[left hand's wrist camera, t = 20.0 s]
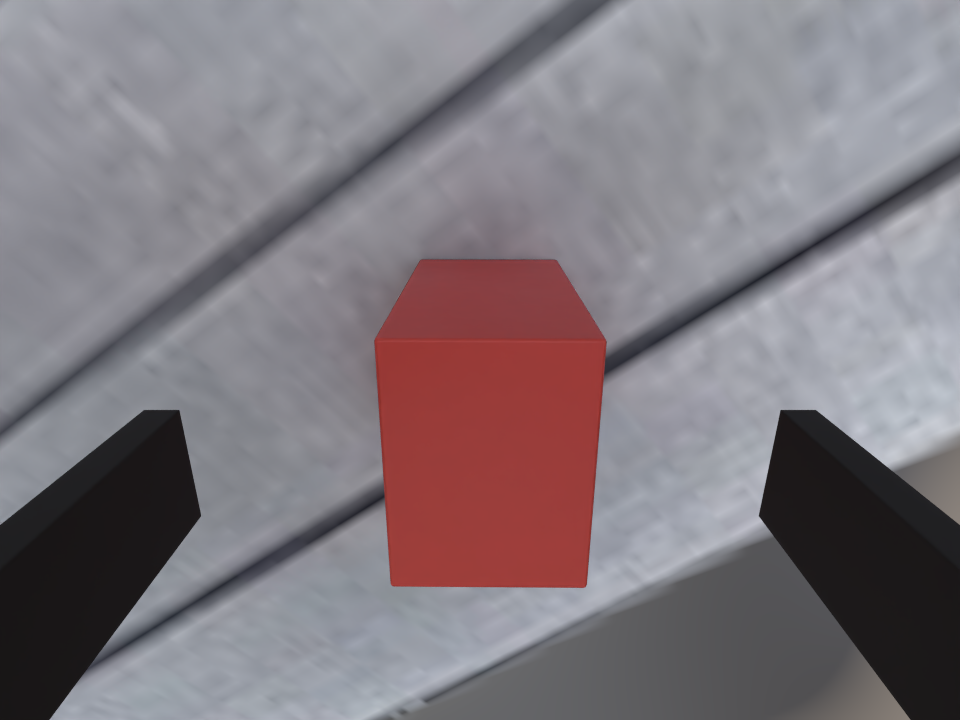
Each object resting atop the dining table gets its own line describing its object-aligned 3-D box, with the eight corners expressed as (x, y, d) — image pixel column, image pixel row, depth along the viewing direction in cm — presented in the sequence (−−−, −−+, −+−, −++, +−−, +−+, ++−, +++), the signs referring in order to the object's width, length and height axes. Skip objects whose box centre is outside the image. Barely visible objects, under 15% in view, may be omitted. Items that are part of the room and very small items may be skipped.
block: (557, 259, 20) (607, 339, 12) (549, 424, 22) (587, 589, 14) (419, 259, 20) (373, 338, 12) (425, 423, 22) (390, 587, 14)
